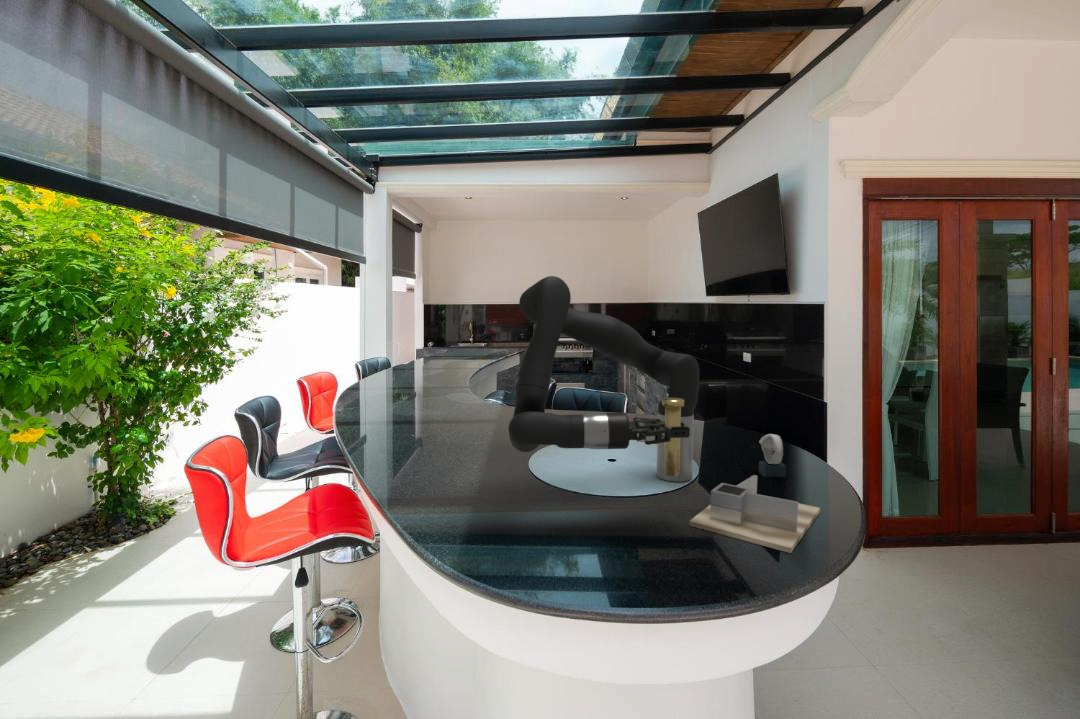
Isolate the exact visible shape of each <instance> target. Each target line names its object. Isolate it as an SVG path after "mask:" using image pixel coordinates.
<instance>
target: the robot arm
mask: <svg viewBox="0 0 1080 719" xmlns="http://www.w3.org/2000/svg"><path fill="white" fill-rule="evenodd" d="M571 299H572V298H571V291H570V288H569V286H568V284H567V283H566V282H565V281H564V280H563V278H561V277H558V276H555V275H549V276H546V277H544V278H542V279H540V280H538V281H536V283H534V284H532V285H531V286H529V287H528V288H526V290H524V292H522V294H521V295H520V296H519V308H520V311H521V312H522V314H523V316H524V317H526V319H527V320H528V321H530V322H532V323H534V324H535V328H534V332H533V335H532V337H531V340H530V342H529V344H528V346H527V349H526V351H525V353H524V355H523V358H522V361H521V363H520V367H519V370H518V371H519V372H518V376H517V382H516V383H517V384H516V389H515V406H514V412H513V417H512V418H511V420H510V422H508V423H509V424H508V435H509V440H510V443H511V445H512V446H513V447H514V448H515V449H516V450H517V451H519V452H522V453H529V452H532V451H534V450H536V449H537V448H538V447H539V445H544V446H545V445H547V446H552V445H553V446H556V447H558V448H561V449H588V450H589V449H590V450H625V449H628V448H629V445H630V441H631V440H632V441H637V442H639V443H644V444H645V445H647V446H649V445H656V444H657V447H656V476H657V478H659V479H661V480H665V481H668V482H676V483H677V482H678V483H679V482H682V483H683V482H687V481H690V480H692V478H693V459H694V458H693V456H694V455H693V454H694V427H695V425H694V423H695V422H694V421H695V420H694V418H695V416H694V415H695V409H696V408H695V407H696V405H697V404H698V400H699V399H698V398H699V388H700V386H699V385H700V367H699V366H700V365H699V363H698V361H697V358H695V357H694V356H692V355H690V354H685V353H679V352H673V351H672V352H671V351H667V350H664V349H661V348H659V347H657V346H655V345H652V344H650V342H648V341H646V340H645V339H644V338H643V337H642V336H641V334H640V333H639V332H638V331H637V330H636V329H635V328H633V326H630V325H629V324H627V323H625V322H623V321H621V320H619V319H618V318H616V317H613V316H611V315H607V314H603V313H597V312H589V311H585V310H584V311H583V310H579V309H575V308H573V307H570V304H571ZM561 334H562V335H565V336H568V337H569V338H571V339H573V340H574V341H577V342H579V343H580V344H583V345H585V346H588V347H590V348H591V349H594V350H595V351H597V352H598V353H601V354H602V355H604V356H606V357H609V359H612V360H615V361H617V362H620V363H622V364H625V365H626V366H630V367H633V368H635V369H637V370H639V371H641V372H642V373H643V374H645V375H646V376H648V377H649V378H651V379H653V380H655V382H657V383H659V384H660V385H662V386H665V387H668V395H667V398H681V399H684V406H683V407H681V426H678V427H670V426H665V406H663V405H662V400H660V401H659V402H658V406H657V418H643V417H633V419H632V421H630V419H629V416H628V414H627V413H626V412H591V413H585V414H556V413H551V412H550V413H549V412H545V411H546V410H545V409H546V405H547V401H548V397H549V392H550V386H551V385H550V384H551V378H552V372H553V371H552V370H553V366H554V365H553V364H554V360H555V356H556V352H557V348H558V345H559V342H560V337H561ZM671 438H680V472H679V476H667V475H665V474H664V443H665V442H670V441H671Z"/></svg>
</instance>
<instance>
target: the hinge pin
mask: <svg viewBox="0 0 1080 719" xmlns="http://www.w3.org/2000/svg"><path fill="white" fill-rule="evenodd" d="M661 401H662V405H663V406H665V426H670V427H678V426H681V407H683V406H684V399H681V398H668V397H664V398H662V400H661ZM679 472H680V438H671V441H670V442H665V443H664V474H665V475H667V476H679Z"/></svg>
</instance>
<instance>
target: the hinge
mask: <svg viewBox="0 0 1080 719" xmlns="http://www.w3.org/2000/svg"><path fill="white" fill-rule="evenodd" d="M798 503H799V501H797V500H792V499H786V498H780V497H775V496H769V495H763V494H760V493H758V475H756V474H753V475H751V476H750V477H748V478H746V479H745V480H743V481H742V482H740V483H738V484H736V485H734V484H729V483H725V482H721V483H720V484H718V485H716V486H715V487H714V488H713V489H712V490H710V504H709V505H710V518H712V519H716V520H720V521H724V522H728V523H732V524H736V525H739V526H741V525H742V524H743V523H744V522H745V521H748V522H753V523H757V524H762V525H767V526H771V527H776V528H781V529H785V530H790V531H794V532H797V520H798Z"/></svg>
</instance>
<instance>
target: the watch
mask: <svg viewBox="0 0 1080 719" xmlns="http://www.w3.org/2000/svg"><path fill="white" fill-rule="evenodd" d="M758 443H759V444H760V446H761V450H762V452H763V456H764V459H765V460H759V461H758V473H759V474H760V475H761V476H763V478H786V476H787V465H786V464H784V463H783V462H782V460H783V456H784V446H783V439H782V438H781V436H780V435H778V434H773V433H768V434H765V435H763V436H762V437H761V438H760V440H759V441H758Z"/></svg>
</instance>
